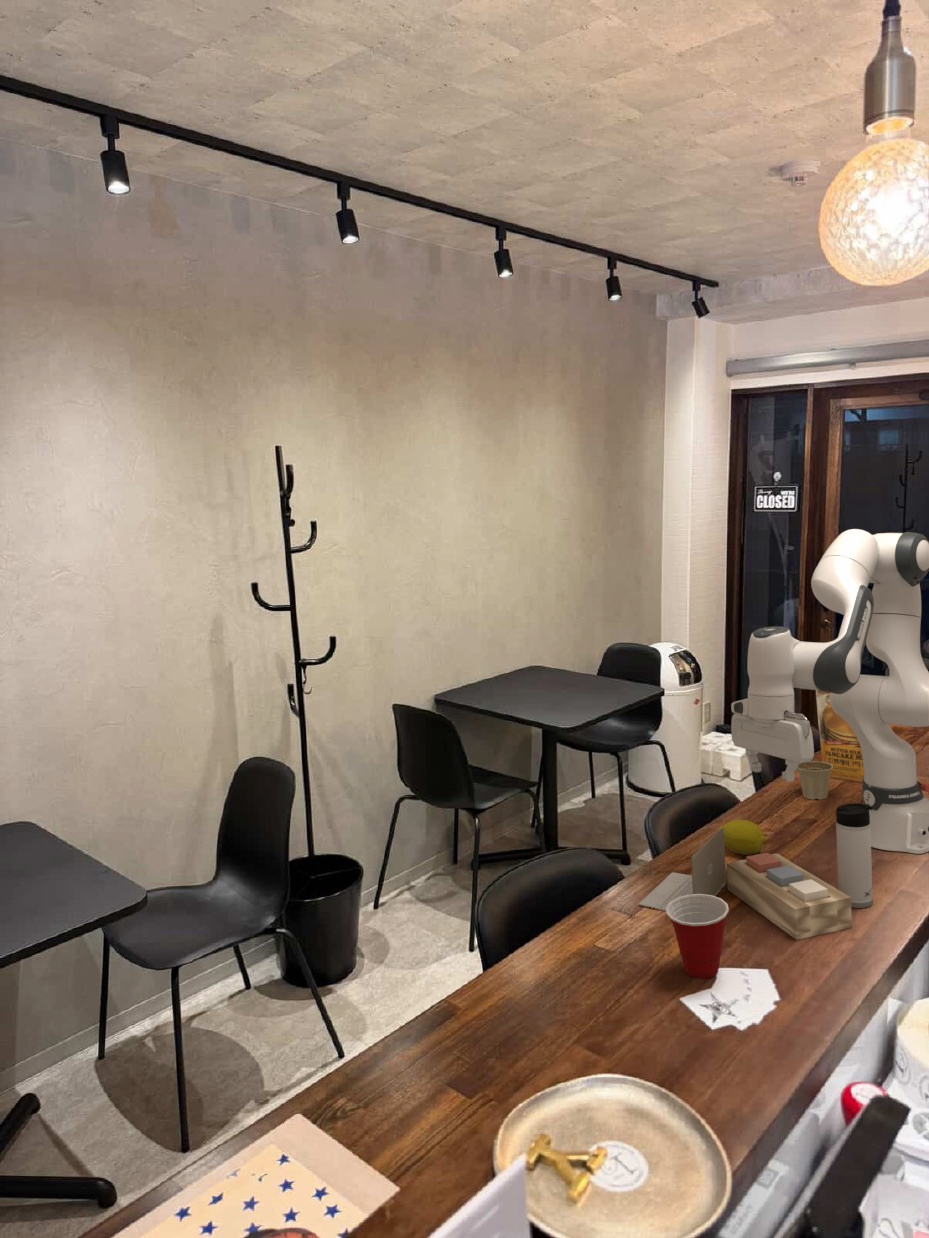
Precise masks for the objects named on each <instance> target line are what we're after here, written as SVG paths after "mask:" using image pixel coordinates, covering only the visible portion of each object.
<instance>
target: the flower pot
mask: <svg viewBox="0 0 929 1238" xmlns="http://www.w3.org/2000/svg"><path fill="white" fill-rule="evenodd" d="M832 769H833V766H832V765H831V764H829V763H826V762H822V761H817V760H816V761H815V760H814V761H813V760H811V761H808V762H800V763H799V766H798V767H797V769H796V771H797V773H798V775H799V781H800V784H801V786H800V787H801V791H802V796H803V798H805V799H807V800H811V801H812V800H813V801H815V800H820V801H821V800H824V799H827V798H828V797H829V796H828V794H829V786H830V785H829V784H830V779H831V778H830V774H831V770H832Z"/></svg>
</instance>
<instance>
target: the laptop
mask: <svg viewBox="0 0 929 1238" xmlns="http://www.w3.org/2000/svg"><path fill="white" fill-rule="evenodd" d="M725 852H726V851H725V843H724V830H723V828H721V829H720V830H719V831H718V830H717V832H716V833H715V834H714V835H712V837H711V838H710V839H709V840H707V842H705V843H704V844H703V845H702V846H701V847H700V848H699V849H698V850H697V851H695V852H694V853H693V855H691V857H690V860H691V862H690V863H691V874H685V873H680V872H673V871H672V872H671V873H670V874H669V875H668V876H667V877H665V878H664V880H662V881H661V882H660V883H659V884H658V885H657V886H656V887H655V888H653V890H652V891H651V892H649V894H647V895H646V896H645V897H644V898H643V899H642V900H641V901H639V903H637V904H638V905H639V906H641V907H645V908H649V907H651V908H650V909H653V908H655V910H657V909H658V911H661V910H662V912H664V913H666V907H667V905H668V904H669V903H670V902H671V901H672V900H674V899H676V898H678V897H681V896H685V895H691V894H705V895H713V896H715V897H717V895H718V893H719V892H720V891H721V890H722V889H723V887H725V886H726V885H727V884H726V883H727V866H726V853H725ZM725 884H726V885H725ZM721 888H722V889H721Z"/></svg>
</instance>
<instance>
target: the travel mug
mask: <svg viewBox="0 0 929 1238" xmlns="http://www.w3.org/2000/svg"><path fill="white" fill-rule="evenodd" d="M869 810H872V808H871V806H870V805H869V804H865V805H864V803H858V802H857V803H856V802H855V803H854V802H853V803H845V804H842V805H840V806H837V807H836V810H835V817H836V818H835V823H836V824H835V828H836V829H835V831H836V833H835V834H836V856H837V858H836V861H837V889H838V890H839V891H841V892H843V893H844V894H846V895H848V896H849V897H851V908H852V907H853V908H852V909H866V908H869V907H870V906H872V905H873V903H874V902H873V901H874V900H873V869H872V868H873V867H872V847H871V831H870V815H869ZM865 907H866V908H865Z"/></svg>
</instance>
